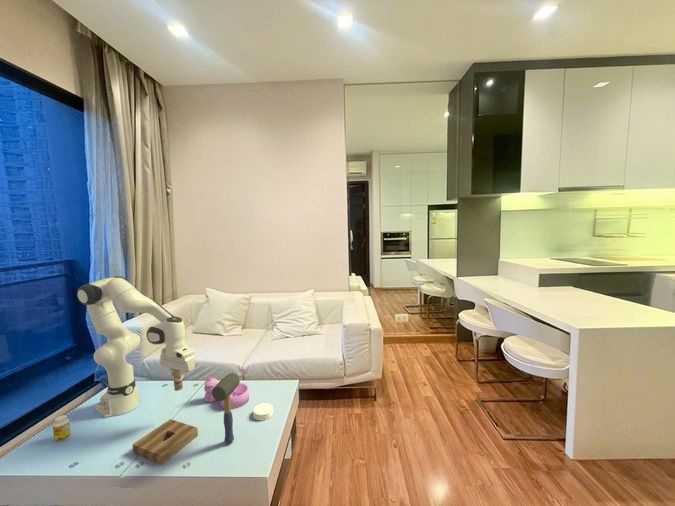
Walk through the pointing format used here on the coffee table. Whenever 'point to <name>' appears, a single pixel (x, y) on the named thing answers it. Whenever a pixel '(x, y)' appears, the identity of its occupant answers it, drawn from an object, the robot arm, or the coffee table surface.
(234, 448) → the coffee table surface
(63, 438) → the supplement bottle
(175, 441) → the walnut board
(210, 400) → the container set
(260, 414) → the cream round disc
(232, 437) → the rubber mallet
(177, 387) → the maple dowel
